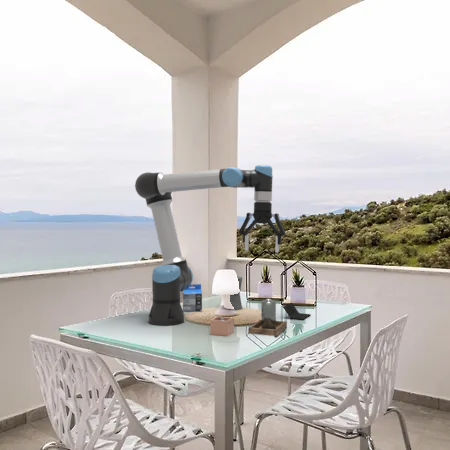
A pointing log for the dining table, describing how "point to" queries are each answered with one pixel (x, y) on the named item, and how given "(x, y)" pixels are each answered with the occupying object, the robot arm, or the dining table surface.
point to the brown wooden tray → (258, 329)
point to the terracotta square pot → (221, 326)
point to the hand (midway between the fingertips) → (261, 251)
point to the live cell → (268, 314)
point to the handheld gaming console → (295, 313)
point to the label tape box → (192, 298)
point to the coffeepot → (236, 297)
